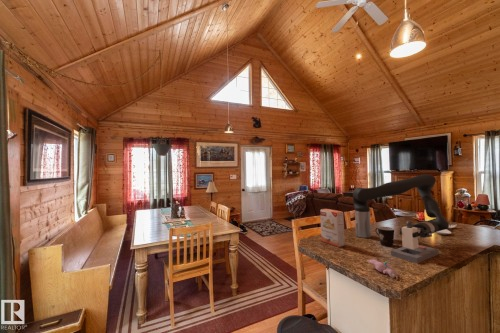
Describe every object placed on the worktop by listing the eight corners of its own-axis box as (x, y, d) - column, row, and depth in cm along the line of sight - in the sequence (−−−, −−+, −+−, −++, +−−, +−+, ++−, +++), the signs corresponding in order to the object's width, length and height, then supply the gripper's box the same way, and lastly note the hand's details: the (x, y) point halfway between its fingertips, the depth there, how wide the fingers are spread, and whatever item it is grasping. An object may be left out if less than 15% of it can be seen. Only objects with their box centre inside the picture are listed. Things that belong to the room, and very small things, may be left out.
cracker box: (320, 241, 143) (319, 209, 144) (327, 240, 146) (326, 208, 147) (338, 247, 131) (336, 212, 132) (345, 245, 134) (343, 211, 134)
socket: (417, 263, 106) (416, 256, 106) (391, 255, 116) (390, 249, 116) (438, 254, 116) (438, 247, 116) (413, 247, 127) (413, 242, 127)
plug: (413, 249, 111) (411, 223, 111) (402, 246, 115) (401, 221, 116) (418, 247, 113) (417, 222, 114) (407, 244, 118) (406, 220, 118)
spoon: (457, 228, 165) (457, 223, 165) (450, 237, 144) (449, 232, 144) (441, 226, 172) (441, 221, 172) (432, 234, 151) (432, 229, 151)
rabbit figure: (404, 281, 92) (372, 262, 106) (405, 268, 92) (373, 250, 105) (393, 284, 90) (363, 264, 104) (395, 270, 89) (364, 252, 103)
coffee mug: (398, 247, 128) (397, 230, 128) (381, 247, 129) (380, 230, 130) (389, 241, 139) (388, 225, 139) (374, 241, 141) (373, 225, 141)
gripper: (408, 220, 128) (392, 224, 120) (438, 224, 115) (422, 229, 107) (409, 233, 128) (392, 238, 119) (439, 239, 115) (423, 245, 107)
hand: (407, 234), depth 113 cm, fingers closed on plug, 5 cm apart
